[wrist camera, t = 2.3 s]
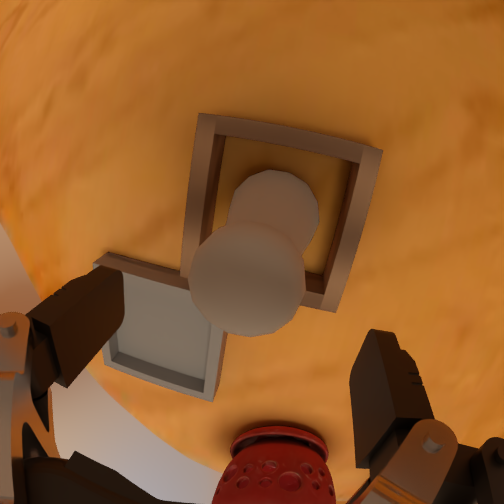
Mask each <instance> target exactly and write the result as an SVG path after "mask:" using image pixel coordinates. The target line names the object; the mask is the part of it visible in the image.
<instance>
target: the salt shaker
mask: <svg viewBox="0 0 504 504" xmlns="http://www.w3.org/2000/svg"><path fill="white" fill-rule="evenodd" d="M318 224H319V212H318V202H317V200H316V198H315V196H314V195H313V193H312V191H311V189H310V188H309V186H308V184H307V183H305V182H304V181H302V180H300V179H299V178H297V177H296V176H294V175H292V174H291V173H288V172H282V171H276V170H266V171H263V172H260V173H257V174H254V175H252V176H249V177H248V178H247V179H246V180H245V181H244V182H243V183H242V184H241V185H240V186H239V187H238V188H237V189H236V190H235V192H234V195H233V199H232V202H231V205H230V208H229V213H228V218H227V222H226V226H223V227H220V228H218V229H217V230H216V231H214V232H213V233H212V234H211V235H210V236H209V237H208V238H207V239H206V240H205V241H204V242H203V243H202V244H201V245H200V246H199V247H198V248H197V249H196V252H195V254H194V257H193V260H192V264H191V268H190V272H189V276H188V283H189V288H190V293H191V297H192V302H193V303H194V304H195V306H196V307H197V308H198V309H199V311H200V312H201V313H202V315H203V316H204V317H205V319H206V320H207V321H209V322H210V323H212V324H214V325H215V326H217V327H218V328H220V329H222V330H223V331H225V332H227V333H231V334H236V335H242V336H247V337H254V336H260V335H265V334H271V333H274V332H276V331H277V330H278V329H280V328H281V327H283V326H284V325H285V324H287V323H288V322H289V321H291V320H292V319H293V317H294V315H295V313H296V311H297V309H298V307H299V305H300V303H301V301H302V299H303V297H304V294H305V292H306V285H305V270H304V260H303V258H302V257H301V255H302V254H303V252H304V251H305V249H306V247H307V246H308V244H309V243H310V241H311V240H312V237H313V235H314V233H315V231H316V228H317V226H318Z"/></svg>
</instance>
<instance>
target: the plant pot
mask: <svg viewBox="0 0 504 504" xmlns="http://www.w3.org/2000/svg"><path fill="white" fill-rule="evenodd" d="M230 453H231V456H232V458H233V459H232V461H231V462H230V463H229V465H228V466H227V467H226V469H225V471H224V473H223V475H222V477H221V479H220V481H219V483H218V486H217V488H216V491H215V494H214V497H213V500H212V504H336V497H335V491H334V486H333V481H332V477H331V474H330V472H329V469H328V467H327V465H326V464H325V463H326V461H327V459H328V449H327V447H326V445H325V444H324V442H323V441H322V440H321V439H319V438H318V437H317V436H315V435H313V434H312V433H309V432H307V431H304V430H301V429H297V428H292V427H286V426H268V427H261V428H256V429H253V430H250V431H247V432H245V433H243V434H241V435H240V436H239V437H237V438H236V439H235V441H234V442H233V443H232V445H231V449H230Z"/></svg>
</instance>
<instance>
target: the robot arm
mask: <svg viewBox="0 0 504 504" xmlns="http://www.w3.org/2000/svg"><path fill="white" fill-rule="evenodd" d="M124 315H125V303H124V278H123V273H122V272H121V271H120V270H117V269H114V268H110V267H107V266H103V265H99V266H98V267H96V268H95V269H94V270H92V271H91V272H89V273H88V274H87V275H84V276H81V277H78V278H76V279H73V280H71V281H69V282H68V283H67V284H65V285H64V286H63V287H62V289H59V290H57V291H56V292H55V293H54V295H50V296H49V297H48V298H47V299H45V300H44V301H43V302H41V303H40V304H39V305H37V306H36V307H35V308H33V309H32V310H31V311H30V312H29V313H27V314H26V315H24V314H22V313H18V312H7V313H3V314H0V504H194V503H181V502H171V501H163V500H159V499H157V498H155V497H153V496H151V495H150V494H148V493H147V492H145V491H144V490H142V489H141V488H139V487H138V486H136V485H135V484H133V483H132V482H131V481H129V480H128V479H126V478H125V477H124V476H122V475H121V474H119V473H118V472H117V471H115V470H113V469H111V468H109V467H107V466H104V465H102V464H100V463H98V462H96V461H94V460H92V459H90V458H88V457H86V456H84V455H82V454H80V453H78V452H77V451H74V453H73V455H72V456H71V457H70V459H69V460H68V459H62V458H60V455H59V452H58V450H57V446H56V443H55V437H54V425H53V410H52V392H51V389H50V386H51V385H52V384H53V382H56V383H58V384H60V385H61V386H63V387H65V388H68V387H69V386H70V384H71V383H72V382H73V381H74V379H75V378H76V377H77V376H78V375H79V374H80V373H81V371H82V370H83V369H84V368H85V367H86V366H87V364H88V363H89V362H90V361H91V360H92V359H93V357H94V356H95V355H96V354H97V353H98V352H99V350H100V349H101V348H102V347H103V346H104V345H105V344H106V342H107V341H108V340H109V339H110V338H111V337H112V336H113V334H114V333H115V332H116V331H117V330H118V329H119V328H120V326H121V324H122V322H123V319H124ZM422 384H423V382H422V379H421V377H420V376H419V371H418V368H417V366H416V363H415V361H414V360H413V359H412V357H411V356H410V355H409V354H408V353H407V352H406V350H401V349H400V347H399V344H398V341H397V338H396V335H395V334H394V333H393V332H388V331H382V330H376V329H371V330H369V332H368V334H367V336H366V338H365V340H364V343H363V345H362V347H361V349H360V352H359V354H358V356H357V358H356V360H355V363H354V365H353V367H352V370H351V374H350V381H349V386H350V395H351V406H352V417H353V429H354V443H355V460H356V468H363V469H370V477H369V478H368V479H367V480H366V481H365V482H364V483H363V484H362V486H361V487H360V488H359V489H358V490H357V491H356V493H355V494H354V495H353V496H352V497H351V498H350V499H349V501H348V502H347V503H346V504H477V503H478V504H504V439H502V438H499V437H493V438H490V439H488V440H487V441H486V442H485V443H484V444H483V445H482V446H481V447H480V448H479V449H478V448H474V447H470V446H466V445H462V444H459V443H458V441H457V438H456V436H455V434H454V432H453V431H452V430H451V429H450V428H449V427H448V426H447V425H446V424H444V423H442V422H440V421H438V420H435V418H434V415H433V412H432V409H431V406H430V403H429V400H428V397H427V394H426V391H425V388H424V386H422Z"/></svg>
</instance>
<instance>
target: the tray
mask: <svg viewBox="0 0 504 504" xmlns="http://www.w3.org/2000/svg"><path fill="white" fill-rule="evenodd" d="M99 265H103V266H107V267H110V268H114V269H117V270H120V271H121V272H122V273H123V278H124V303H125V315H124V319H123V322H122V324H121V326H120V328H119V329H118V330H117V331H116V332H115V333H114V334H113V336H112V337H111V338H110V339H109V340H108V341H107V342H106V344H105V345H104V346H103V347H102V352H103V358H104V364H105V365H107V366H109V367H112V368H114V369H116V370H119V371H121V372H124V373H127V374H129V375H132V376H134V377H137V378H140V379H142V380H145V381H148V382H151V383H153V384H156V385H159V386H162V387H165V388H168V389H171V390H174V391H177V392H180V393H183V394H187V395H190V396H193V397H197V398H200V399H203V400H207V401H210V402H213V400H214V397H215V395H216V392H217V389H218V386H219V382H220V376H221V370H222V363H223V357H224V351H225V345H226V339H227V332H225V331H223V330H222V329H220V328H218V327H217V326H215V325H214V324H212V323H210V322H209V321H207V320H206V319H205V317H204V316H203V315H202V313H201V312H200V311H199V309H198V308H197V307H196V306H195V304H194V303H193V302H192V297H191V293H190V288H189V283H188V278H184V277H181V276H180V271H177V270H173V269H169V268H165V267H161V266H158V265H154V264H150V263H146V262H143V261H139V260H135V259H131V258H128V257H124V256H121V255H117V254H113V253H110V252H108V253H106V254H105V255H103V256H102V257H100V258H99V259H97V260H96V261H95V262H93V270H94V269H95V268H96V267H98V266H99Z"/></svg>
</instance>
